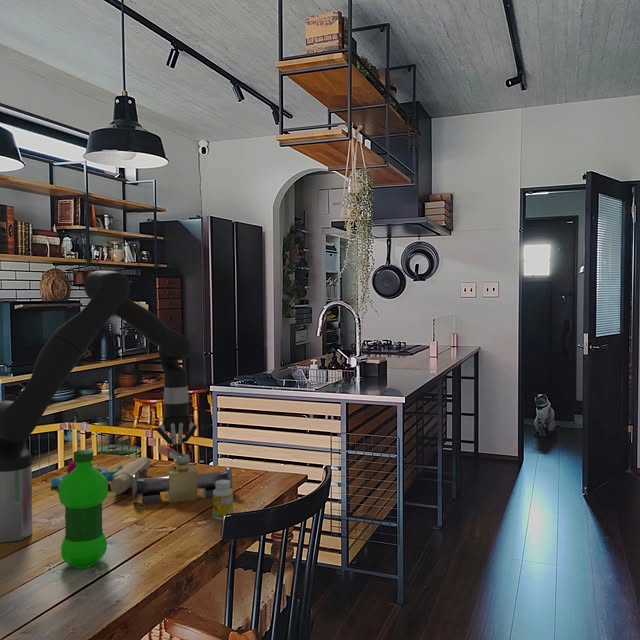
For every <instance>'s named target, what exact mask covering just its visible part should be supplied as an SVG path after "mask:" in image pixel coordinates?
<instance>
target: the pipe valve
mask: <svg viewBox="0 0 640 640" xmlns="http://www.w3.org/2000/svg"><path fill="white" fill-rule="evenodd" d="M175 465H176V466H168V467H167V476H166V475H165V476H154V477H141V478H139V479H137V474H132V488H131V498H132V500H137V499H138V497H137V496H138V495H141V503H142V504H145V505H154V504H155V505H157V504H161V493H167V497H168V498H167V499H168V502H169V504H171V503H178V502H179V503H180V502H181V501H182V502H191V501H192V500H193V501H198V490H200V489H201V490H203V491H202V492H203V495H204V497H205V499H206V500H209V498H210V499H213V491H214V490H215V489H216V487H215V482H216V481H218V480H229V481H230V487H229V488H231V489H232V490H233V473H232V468H231V467H230V466H226V467H224V471H217V472H207V473H206V472H203V473H198V469H197V467H196V465H195V464H194V465H193V464H192V465H190V462H189V463H188V464H176V463H175ZM142 504H141V505H142Z"/></svg>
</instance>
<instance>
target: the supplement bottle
mask: <svg viewBox="0 0 640 640" xmlns="http://www.w3.org/2000/svg"><path fill="white" fill-rule="evenodd" d="M215 487H216V489H215V490H214V491H213V498H212V517H213V519H215V520H219V521H223V520H222V517H223V516H224V515H225V514H230V513H233V514H234V492H233V488H232V489H231V488H229V487H230V481H229V480H218V481H216V482H215Z"/></svg>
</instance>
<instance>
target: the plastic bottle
mask: <svg viewBox="0 0 640 640" xmlns="http://www.w3.org/2000/svg"><path fill="white" fill-rule="evenodd" d="M73 460H74V462H76V468H75V469H74V470H72V471H71V472H70V473H69V474H68V475H67V476H66V477H65V478H64V479H63V480H62V481H61V483H60V486H59V490H58V498H59V499H58V500H59V502H60V503H61V505H63V506H64V507H65V511H64V512H65V513H64V519H65V528H64V529H65V535H64V537H63V539H62V542H61V547H60V555H61V557H62V560H63V561H64V562H65V563H67V564H68V565H69V566H71V567H72V566H74V567H76V568H75V569H86V568H85V567H87V568H89V567H88V566H91V567H93V566H94V565H95V563H96V564H97V563H98V562H99V560H101V558H103V557H104V556H105V555H106V551H107V549H108V548H107V547H108V544H107V538H106V535H105V533H104V532H103V502H104V501H105V500H106V499H107V498H108V493H109V484H108V482H107V480H106V477H105V476H104V475H103V474H101V473H100V472H99V471H98V470H96V469H94V468H93V467H91V463H92V461H94V450H92V449H80V450H76V451H73ZM93 564H94V565H93ZM92 565H93V566H92ZM74 567H73V568H74Z"/></svg>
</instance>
